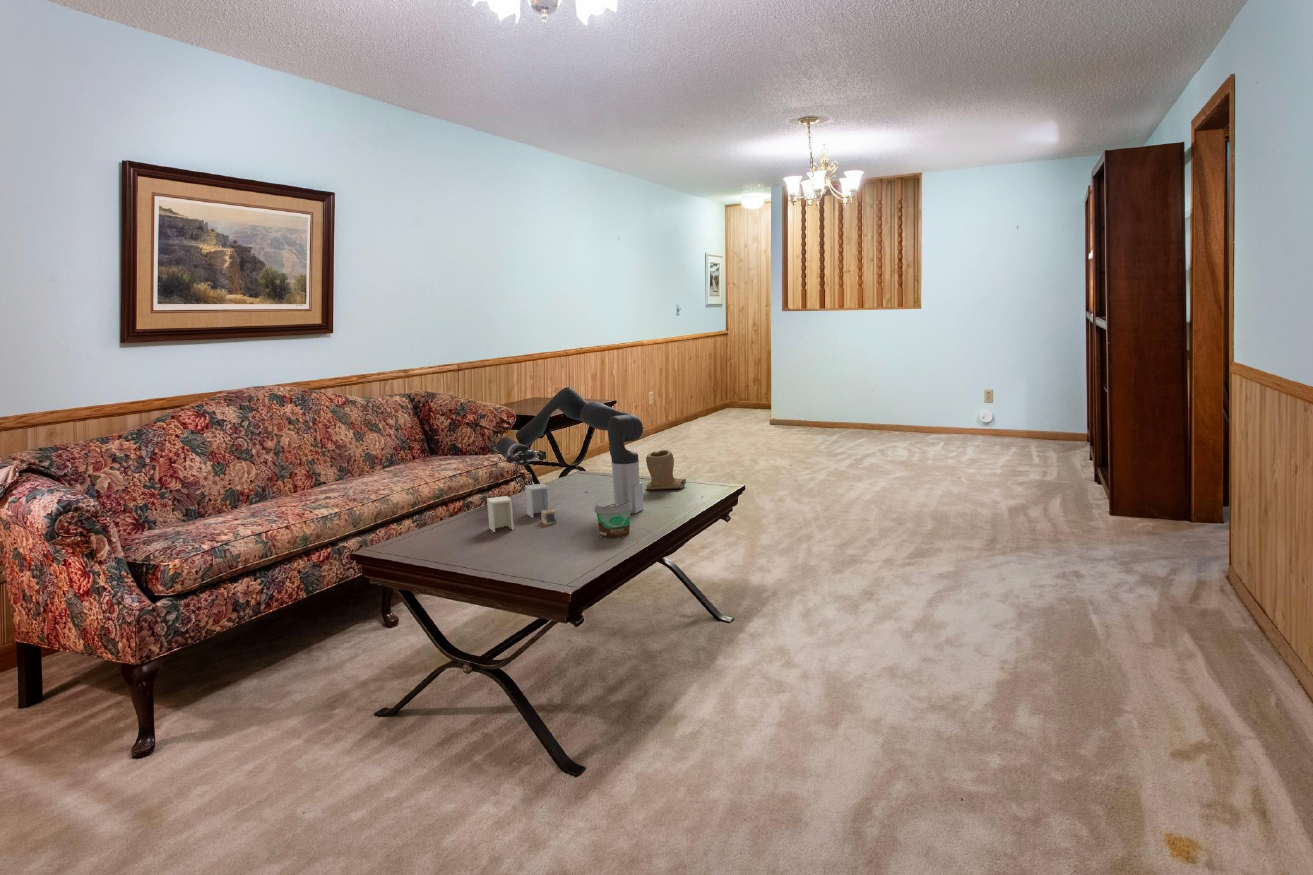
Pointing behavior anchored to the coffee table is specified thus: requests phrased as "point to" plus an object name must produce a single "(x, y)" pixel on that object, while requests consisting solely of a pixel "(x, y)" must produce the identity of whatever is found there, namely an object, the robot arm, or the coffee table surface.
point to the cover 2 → (537, 498)
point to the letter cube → (548, 516)
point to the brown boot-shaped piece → (662, 471)
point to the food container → (614, 520)
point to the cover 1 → (500, 512)
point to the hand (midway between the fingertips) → (530, 458)
